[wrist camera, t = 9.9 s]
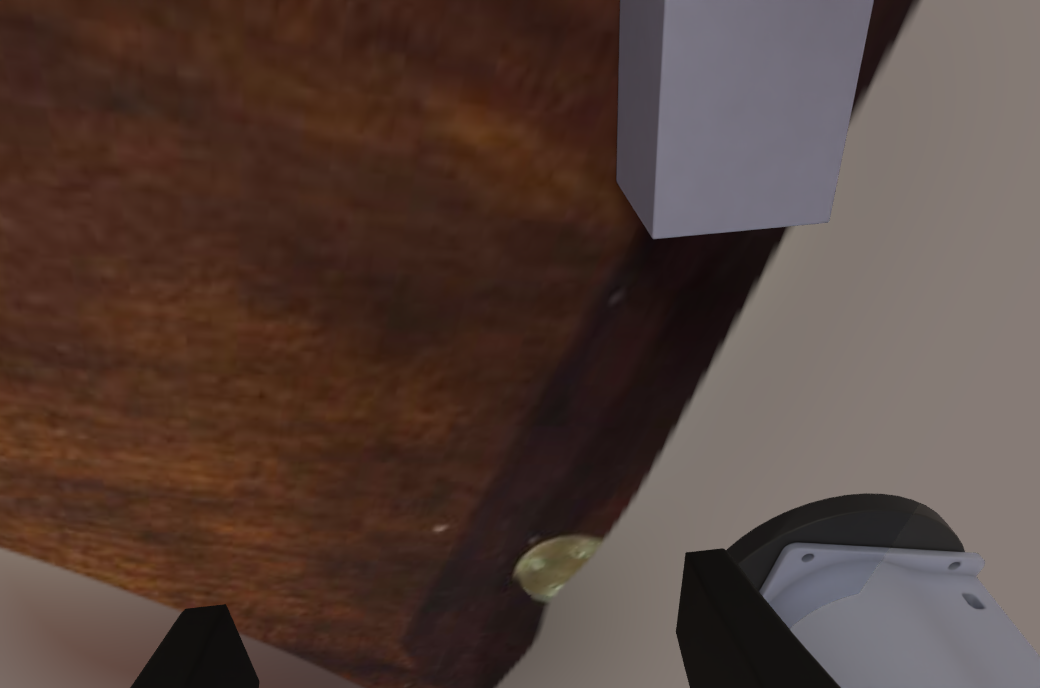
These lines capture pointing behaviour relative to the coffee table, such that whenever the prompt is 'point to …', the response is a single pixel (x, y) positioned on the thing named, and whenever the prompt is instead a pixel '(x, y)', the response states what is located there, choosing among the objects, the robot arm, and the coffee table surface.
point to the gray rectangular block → (735, 110)
